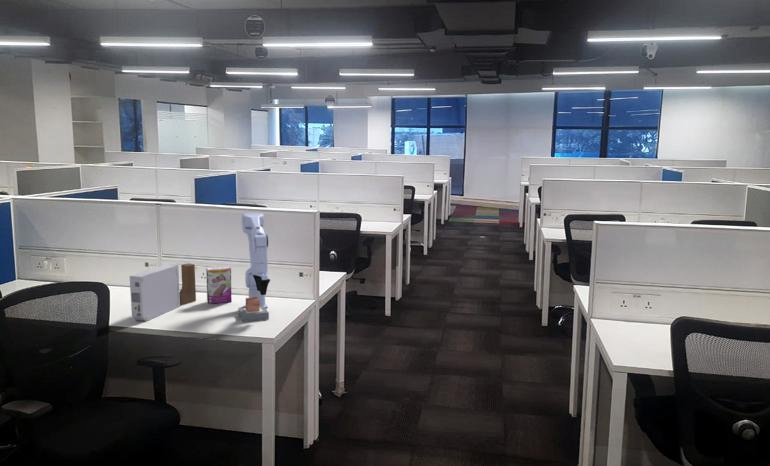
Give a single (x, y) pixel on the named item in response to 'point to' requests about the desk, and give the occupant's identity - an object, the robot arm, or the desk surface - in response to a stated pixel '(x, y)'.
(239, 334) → the desk surface
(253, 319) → the grey square frame
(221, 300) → the candy bar box
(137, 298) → the game console
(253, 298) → the salmon brown cube
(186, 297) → the wooden block
